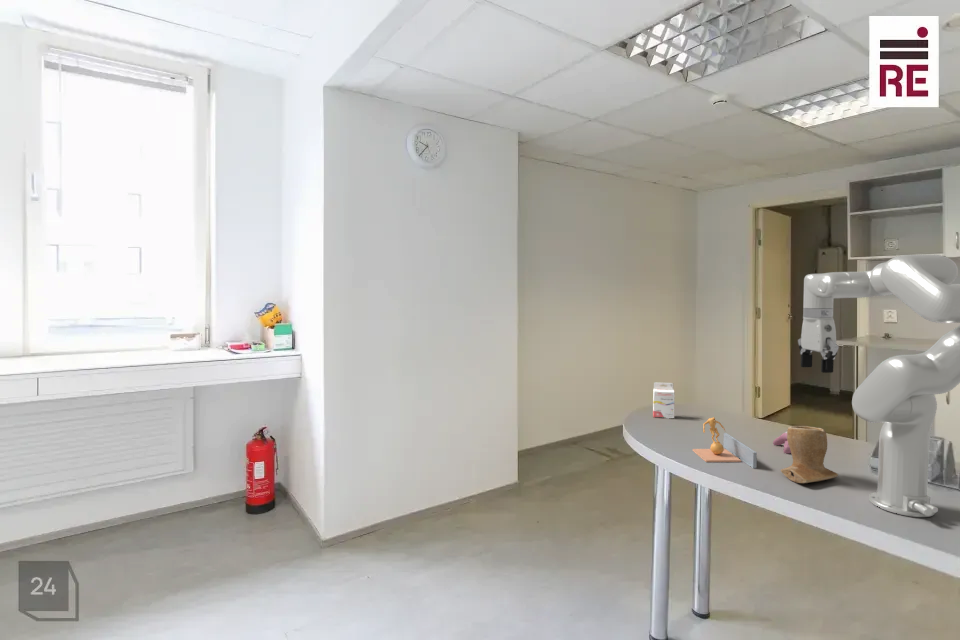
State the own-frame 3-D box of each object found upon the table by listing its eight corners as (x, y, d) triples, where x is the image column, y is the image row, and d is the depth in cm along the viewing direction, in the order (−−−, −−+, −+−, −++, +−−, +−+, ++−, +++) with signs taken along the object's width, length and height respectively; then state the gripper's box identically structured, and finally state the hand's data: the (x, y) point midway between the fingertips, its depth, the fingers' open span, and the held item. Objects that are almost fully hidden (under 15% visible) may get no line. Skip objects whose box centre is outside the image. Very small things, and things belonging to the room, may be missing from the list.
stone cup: (805, 466, 150) (806, 419, 149) (844, 481, 139) (846, 430, 138) (768, 473, 146) (769, 424, 145) (805, 489, 134) (807, 436, 133)
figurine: (710, 457, 158) (710, 421, 158) (698, 451, 164) (698, 416, 163) (732, 454, 160) (732, 419, 159) (719, 449, 166) (719, 414, 165)
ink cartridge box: (653, 417, 209) (653, 384, 208) (652, 414, 213) (652, 381, 212) (674, 419, 206) (674, 384, 205) (673, 416, 211) (673, 382, 210)
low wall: (756, 468, 150) (756, 452, 149) (753, 468, 150) (753, 452, 149) (726, 447, 170) (726, 433, 169) (723, 447, 170) (723, 433, 169)
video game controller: (796, 459, 161) (807, 441, 160) (783, 452, 162) (794, 434, 161) (783, 449, 171) (793, 432, 170) (770, 443, 171) (780, 426, 170)
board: (741, 462, 155) (741, 460, 155) (706, 462, 156) (706, 460, 156) (725, 450, 166) (725, 448, 166) (692, 450, 167) (692, 448, 167)
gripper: (851, 315, 139) (849, 374, 140) (812, 312, 156) (810, 365, 157) (824, 316, 139) (822, 374, 140) (788, 312, 156) (787, 365, 158)
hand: (816, 369), depth 149 cm, fingers open, 9 cm apart
